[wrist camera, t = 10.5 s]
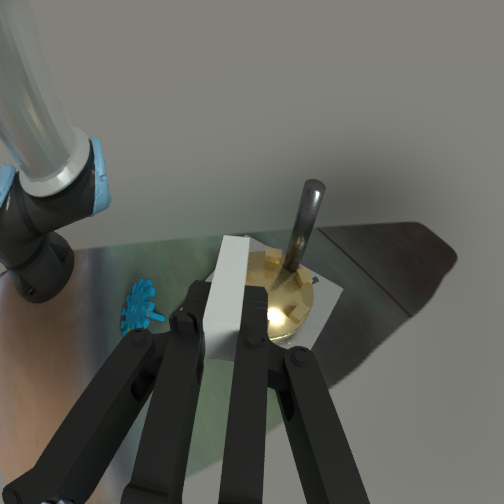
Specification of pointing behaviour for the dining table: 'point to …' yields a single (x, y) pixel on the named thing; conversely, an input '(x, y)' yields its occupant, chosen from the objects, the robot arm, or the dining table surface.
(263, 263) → the gold toothed rod mount
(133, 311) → the gear
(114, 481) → the dining table surface
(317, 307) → the white square base plate
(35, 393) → the dining table surface
